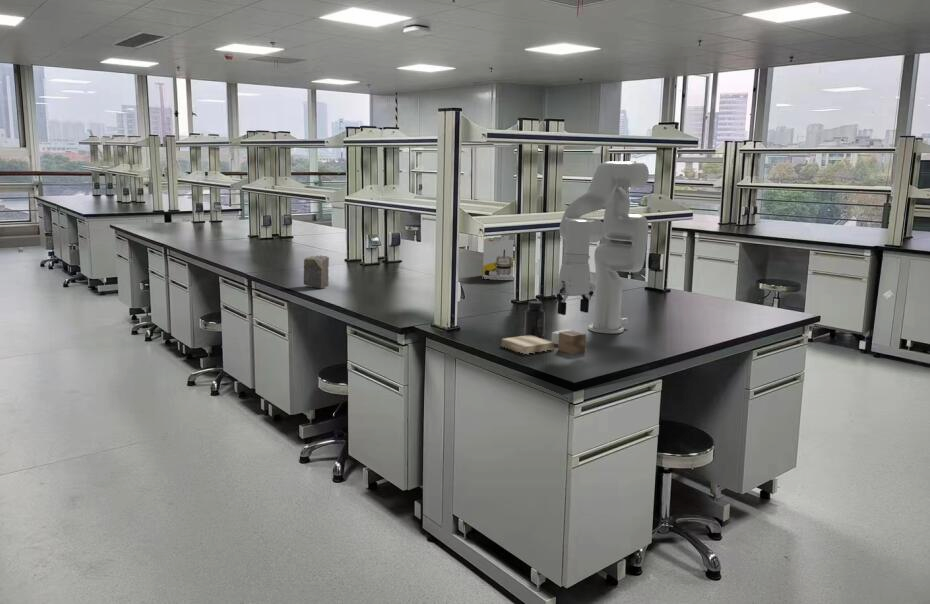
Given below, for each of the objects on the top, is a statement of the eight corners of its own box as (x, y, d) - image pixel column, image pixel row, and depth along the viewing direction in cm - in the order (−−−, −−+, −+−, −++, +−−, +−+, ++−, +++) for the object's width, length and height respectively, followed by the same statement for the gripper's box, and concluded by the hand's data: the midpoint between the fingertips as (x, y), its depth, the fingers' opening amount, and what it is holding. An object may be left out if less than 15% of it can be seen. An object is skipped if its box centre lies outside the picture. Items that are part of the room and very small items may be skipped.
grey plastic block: (565, 340, 241) (565, 328, 240) (584, 344, 235) (585, 333, 235) (551, 344, 235) (551, 332, 234) (571, 348, 230) (571, 336, 229)
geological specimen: (303, 287, 331) (302, 255, 328) (312, 285, 336) (311, 254, 333) (321, 289, 326) (320, 257, 323) (329, 287, 331) (329, 256, 328)
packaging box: (482, 280, 365) (483, 231, 361) (482, 275, 381) (484, 229, 377) (513, 281, 365) (515, 232, 360) (513, 276, 381) (514, 230, 376)
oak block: (529, 343, 236) (530, 334, 235) (553, 351, 226) (554, 342, 226) (501, 347, 229) (501, 338, 229) (524, 356, 220) (525, 346, 219)
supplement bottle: (542, 333, 248) (544, 300, 246) (545, 338, 241) (546, 304, 239) (523, 333, 248) (524, 300, 246) (525, 338, 241) (526, 303, 239)
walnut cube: (571, 348, 229) (572, 330, 228) (584, 352, 225) (585, 334, 223) (558, 350, 226) (559, 332, 225) (571, 354, 221) (572, 336, 220)
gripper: (587, 257, 228) (584, 309, 230) (547, 258, 218) (544, 313, 221) (604, 259, 222) (601, 313, 224) (563, 261, 212) (560, 317, 215)
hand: (572, 313), depth 222 cm, fingers open, 9 cm apart
